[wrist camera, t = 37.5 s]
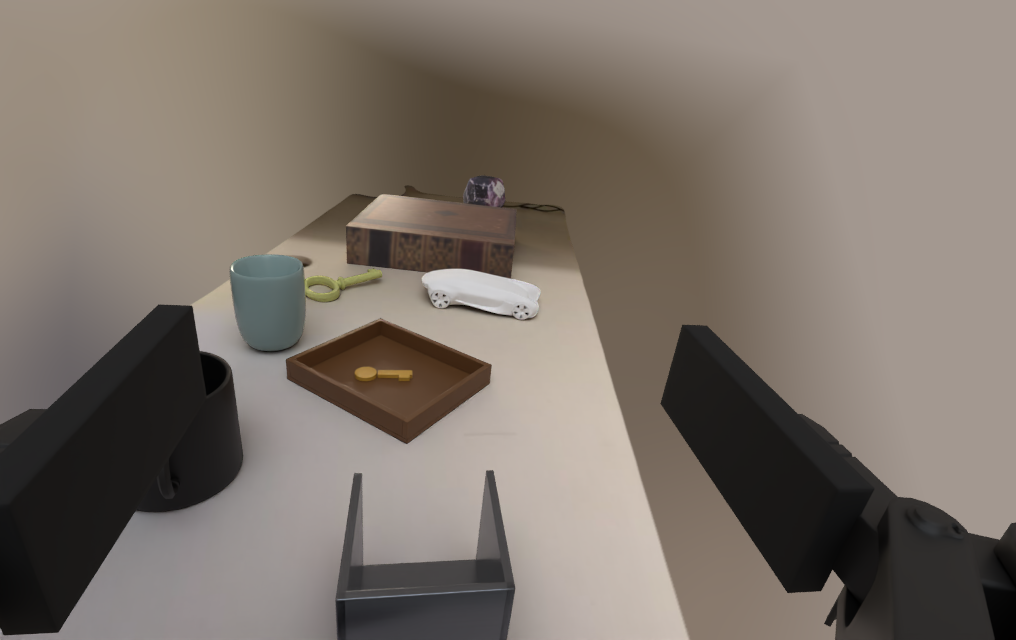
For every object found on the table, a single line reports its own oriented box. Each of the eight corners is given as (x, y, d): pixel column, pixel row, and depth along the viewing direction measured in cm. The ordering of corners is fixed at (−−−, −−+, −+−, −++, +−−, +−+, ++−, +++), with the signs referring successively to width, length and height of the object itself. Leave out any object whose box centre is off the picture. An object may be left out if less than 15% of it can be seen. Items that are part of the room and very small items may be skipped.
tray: (287, 379, 59) (285, 359, 58) (380, 335, 70) (380, 318, 69) (406, 444, 51) (407, 422, 50) (489, 383, 62) (491, 364, 61)
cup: (240, 330, 67) (232, 254, 63) (307, 326, 70) (303, 253, 66) (235, 361, 61) (225, 279, 56) (308, 356, 63) (304, 277, 59)
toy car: (539, 301, 86) (543, 275, 84) (536, 322, 78) (540, 294, 76) (428, 286, 86) (429, 259, 84) (415, 305, 79) (416, 276, 77)
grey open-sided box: (498, 692, 32) (515, 588, 28) (340, 708, 30) (335, 600, 26) (481, 564, 40) (493, 470, 36) (355, 571, 38) (354, 472, 34)
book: (510, 281, 92) (514, 244, 89) (347, 263, 92) (346, 225, 89) (512, 239, 114) (516, 209, 111) (381, 224, 114) (381, 194, 111)
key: (385, 282, 86) (385, 270, 85) (322, 305, 76) (321, 291, 75) (354, 270, 89) (353, 258, 88) (289, 290, 79) (288, 277, 78)
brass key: (355, 366, 61) (355, 370, 61) (353, 377, 58) (353, 381, 59) (412, 366, 62) (412, 370, 62) (412, 378, 60) (412, 381, 60)
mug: (95, 555, 37) (62, 451, 33) (120, 447, 47) (98, 356, 43) (246, 520, 41) (233, 424, 37) (241, 427, 51) (230, 343, 47)
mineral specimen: (477, 216, 121) (472, 171, 120) (459, 222, 130) (454, 180, 129) (515, 214, 125) (510, 170, 124) (495, 219, 135) (490, 179, 134)
